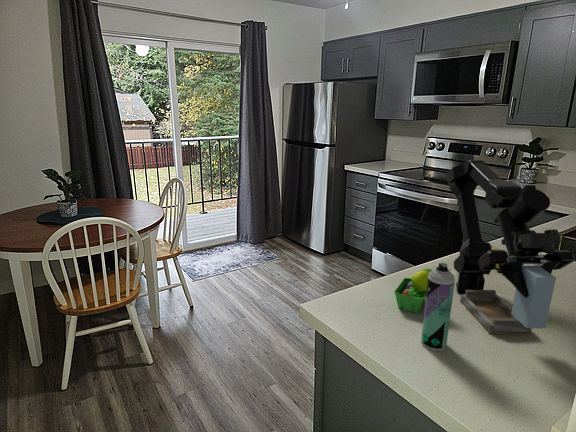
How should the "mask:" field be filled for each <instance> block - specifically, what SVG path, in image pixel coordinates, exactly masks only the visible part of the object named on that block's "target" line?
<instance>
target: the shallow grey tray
mask: <svg viewBox="0 0 576 432" xmlns="http://www.w3.org/2000/svg"><path fill="white" fill-rule="evenodd" d="M460 303H461V305H463V307H465V309H466V310H467V311H468V312H469V313H470V314H471V315H472V317H473V318H474V319H475V320H476V321H477V322H478V323H479V324H480V325H481V327H483V329H484V330H485V331H486V332H487V333H488V334H489V335H501V334H502V335H518V334H519V335H525V334H527V335H529V334H530V335H531V332H532V329H533V328H526V327H525V326H524V325H523V324H522V323H521V322H520V321H519V320H517V319H516V318H515V317H514V316H513V315H512V314H511V312H512V307H513V306H511V305H509V304H508V303H507V302H506V301H505V300H503V298H502V297H501V296H499V295H498V294H497V291H496V290H495V289H484V290H465V294H461V295H460Z"/></svg>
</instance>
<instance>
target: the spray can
mask: <svg viewBox="0 0 576 432" xmlns="http://www.w3.org/2000/svg"><path fill="white" fill-rule="evenodd" d="M455 281H456V275H455V274H454V273H452V272H450V269H449V268H448V264H447V263H444V262H439V263H438V266H437V267H435V269H431V271H430V272H429V275H428V283H427V292H426V298H425V300H424V302H425V303H424V312H423V321H422V329H421V340H420V343H421V345H422V347H423V348H425V349H426V350H429V351H431V350H432V352H443V351H445V350H446V348H447V344H448V337H449V336H448V335H449V329H450V321H451V315H452V314H451V313H452V304H453V300H454V299H453V298H454V291H455V290H454V289H455Z"/></svg>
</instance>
